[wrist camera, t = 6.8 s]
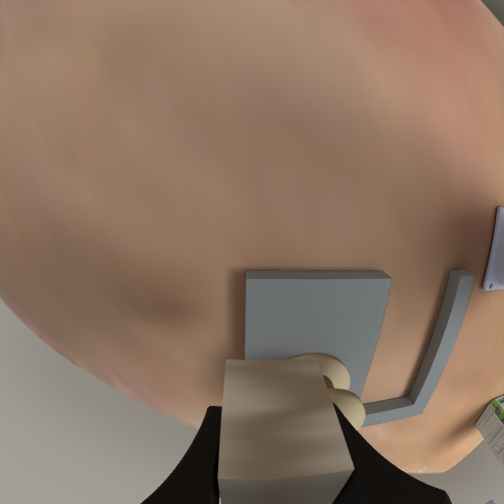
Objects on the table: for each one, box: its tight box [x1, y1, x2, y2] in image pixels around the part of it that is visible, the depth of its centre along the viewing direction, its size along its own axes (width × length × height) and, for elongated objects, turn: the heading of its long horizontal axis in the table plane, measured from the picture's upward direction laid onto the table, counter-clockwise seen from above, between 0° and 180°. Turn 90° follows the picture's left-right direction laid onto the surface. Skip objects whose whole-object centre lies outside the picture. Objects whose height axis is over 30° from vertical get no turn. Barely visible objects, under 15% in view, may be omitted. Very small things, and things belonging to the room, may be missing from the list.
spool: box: [292, 353, 366, 431], centre depth 18 cm, size 6×6×5 cm
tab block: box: [218, 358, 354, 504], centre depth 10 cm, size 4×4×6 cm
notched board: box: [245, 270, 476, 427], centre depth 21 cm, size 19×16×2 cm
